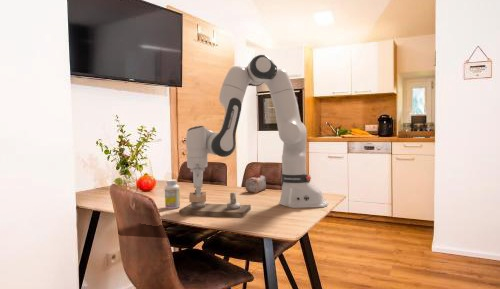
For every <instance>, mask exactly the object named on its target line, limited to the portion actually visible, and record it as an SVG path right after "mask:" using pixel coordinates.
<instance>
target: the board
mask: <svg viewBox="0 0 500 289" xmlns="http://www.w3.org/2000/svg"><path fill="white" fill-rule="evenodd" d="M194 192H195V195H196V189H195V190H194ZM229 196H230V197H229V198H230V199H229V200H230V202H227V203H206V202H190V204H187V205H186V206H184V207H183V208H180V209H179V210H178V215H179V216H193V217H195V216H197V217H200V216H201V217H225V218H226V217H227V218H245V216H246V215H247V214H248V213H249V212H250V210H252V206H251V204H241V203H240V202H238V201H237V193H236V192H230V194H229Z"/></svg>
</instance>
